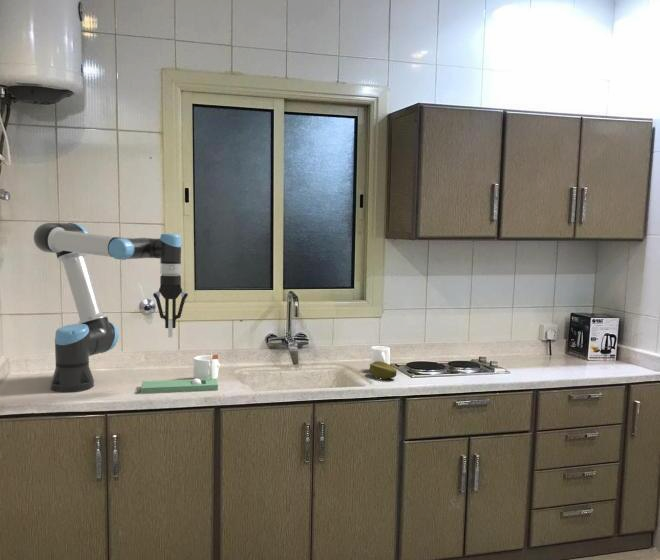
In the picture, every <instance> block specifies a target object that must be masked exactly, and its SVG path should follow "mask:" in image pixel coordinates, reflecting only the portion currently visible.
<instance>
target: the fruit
mask: <svg viewBox="0 0 660 560" xmlns="http://www.w3.org/2000/svg"><path fill="white" fill-rule="evenodd" d="M369 371H370V374H371V375H372V376H373V377H374V378H376V377H377V378H376V379H378V378H381V379H380V380H387V379H394V378H395V377H397V370H396V369H395V368H394V367H393V366H392V365H391V364H390V365H389V364H387V363H385V362H381V361H376V362H374V363H372V364H371V363H369Z"/></svg>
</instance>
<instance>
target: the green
mask: <svg viewBox="0 0 660 560" xmlns="http://www.w3.org/2000/svg"><path fill="white" fill-rule="evenodd" d="M212 359H218V360H219V354H210V379H200V381H201V384H192V381H193V380H194V378H192V379H172V380H171V379H169V380H149V381H148V380H147V381H142V382H141V387H140V394H156V393H157V394H158V392H159V393H160V392H161V393H162V392H163V393H177V392H178V393H181V392H183V393H184V391H185V392H204V391H206V390H207V391H218V390H219V384H218V382H217V381H218V380H217V379H212ZM207 391H206V392H207Z"/></svg>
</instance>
